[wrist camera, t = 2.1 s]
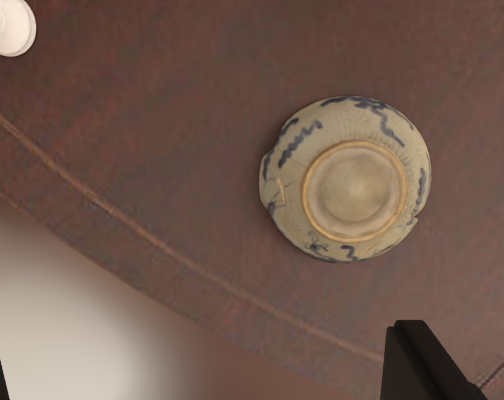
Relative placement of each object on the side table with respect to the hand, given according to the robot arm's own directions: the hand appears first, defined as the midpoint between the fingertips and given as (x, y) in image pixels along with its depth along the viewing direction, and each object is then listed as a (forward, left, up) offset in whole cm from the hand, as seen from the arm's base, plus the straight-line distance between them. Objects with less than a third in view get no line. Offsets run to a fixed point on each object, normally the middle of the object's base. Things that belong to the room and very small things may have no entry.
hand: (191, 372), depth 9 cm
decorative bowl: (-1, +9, -25) cm, 26 cm away
